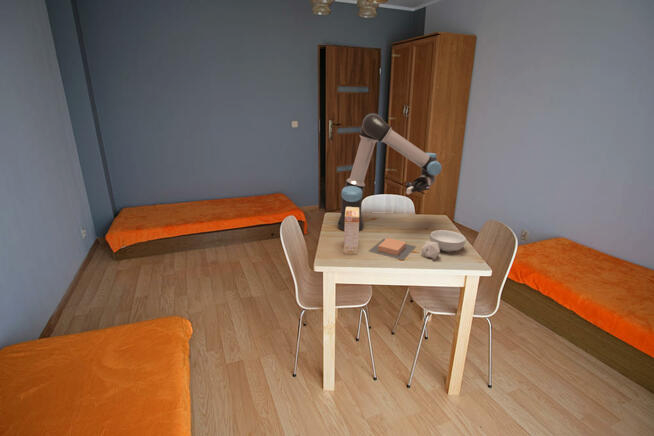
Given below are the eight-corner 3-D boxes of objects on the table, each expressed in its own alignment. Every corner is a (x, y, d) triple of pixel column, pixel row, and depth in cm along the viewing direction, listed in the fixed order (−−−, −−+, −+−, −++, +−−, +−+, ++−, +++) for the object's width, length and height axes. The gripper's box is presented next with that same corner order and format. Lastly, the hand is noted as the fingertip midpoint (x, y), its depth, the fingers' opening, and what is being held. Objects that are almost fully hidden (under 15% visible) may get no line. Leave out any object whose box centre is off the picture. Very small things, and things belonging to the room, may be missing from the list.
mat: (368, 253, 170) (368, 251, 170) (383, 240, 185) (383, 238, 185) (403, 262, 161) (403, 260, 161) (416, 248, 176) (416, 246, 176)
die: (418, 254, 171) (417, 244, 163) (431, 244, 172) (431, 234, 165) (430, 266, 166) (430, 256, 158) (443, 255, 167) (444, 245, 160)
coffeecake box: (344, 241, 183) (345, 206, 177) (357, 242, 182) (359, 207, 176) (343, 253, 169) (344, 215, 163) (357, 254, 168) (359, 216, 162)
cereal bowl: (437, 256, 168) (439, 243, 165) (423, 243, 183) (425, 230, 181) (470, 254, 170) (472, 241, 168) (453, 241, 186) (455, 229, 183)
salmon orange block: (387, 243, 179) (377, 251, 170) (387, 237, 178) (378, 245, 169) (405, 247, 174) (397, 256, 165) (406, 242, 174) (397, 250, 164)
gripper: (432, 191, 194) (419, 200, 174) (409, 187, 200) (395, 196, 181) (434, 178, 191) (421, 186, 172) (411, 174, 197) (396, 182, 178)
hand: (407, 191), depth 176 cm, fingers closed
